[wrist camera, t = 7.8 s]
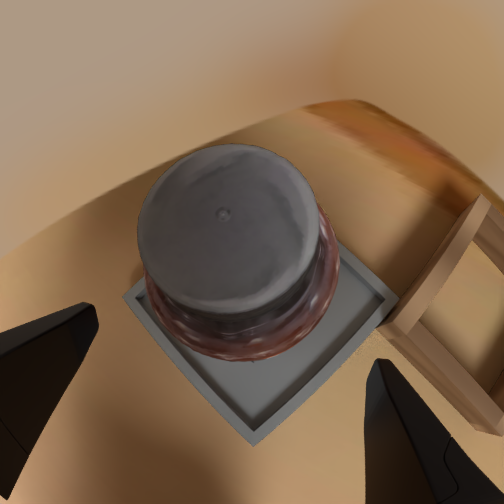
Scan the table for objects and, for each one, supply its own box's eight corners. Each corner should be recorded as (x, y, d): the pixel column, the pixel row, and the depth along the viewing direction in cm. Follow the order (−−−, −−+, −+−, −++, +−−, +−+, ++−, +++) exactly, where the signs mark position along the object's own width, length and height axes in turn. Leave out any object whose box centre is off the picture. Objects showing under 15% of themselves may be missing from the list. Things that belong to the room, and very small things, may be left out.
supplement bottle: (180, 309, 17) (55, 230, 7) (252, 233, 19) (221, 80, 8) (260, 383, 16) (228, 426, 5) (333, 300, 17) (414, 201, 6)
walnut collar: (476, 430, 14) (502, 436, 11) (375, 328, 17) (392, 321, 14) (543, 309, 16) (568, 300, 13) (460, 213, 19) (480, 193, 16)
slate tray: (255, 440, 15) (253, 446, 14) (132, 301, 19) (121, 296, 17) (391, 303, 17) (399, 298, 16) (260, 185, 21) (259, 173, 19)
